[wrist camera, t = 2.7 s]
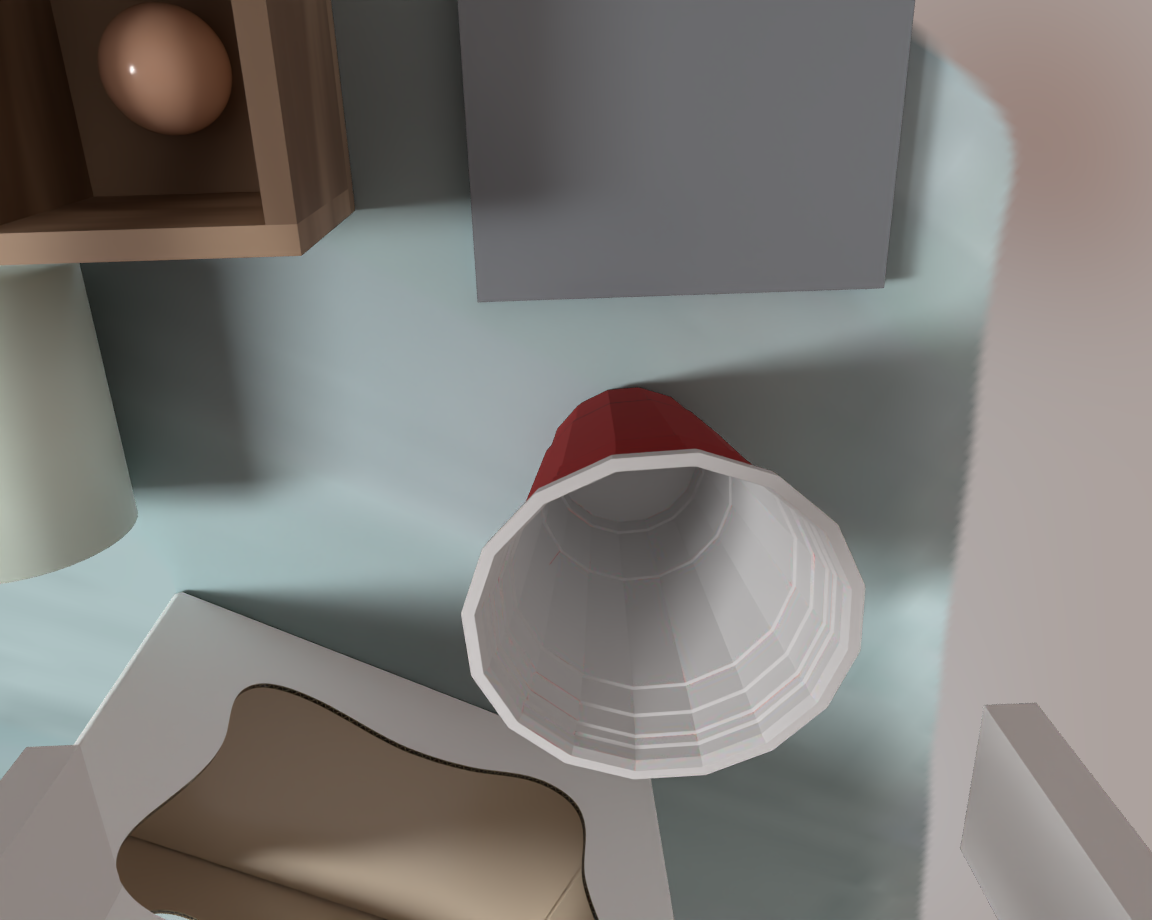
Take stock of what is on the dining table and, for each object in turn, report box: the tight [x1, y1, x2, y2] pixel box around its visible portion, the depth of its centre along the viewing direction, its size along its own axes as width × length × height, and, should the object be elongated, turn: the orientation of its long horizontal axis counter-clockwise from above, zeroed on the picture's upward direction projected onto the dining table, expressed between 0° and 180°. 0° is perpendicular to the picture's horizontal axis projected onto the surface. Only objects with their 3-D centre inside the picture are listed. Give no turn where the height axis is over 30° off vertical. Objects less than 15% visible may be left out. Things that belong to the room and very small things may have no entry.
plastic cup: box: [461, 387, 865, 779], centre depth 30 cm, size 11×11×12 cm
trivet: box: [458, 0, 915, 302], centre depth 30 cm, size 14×14×1 cm
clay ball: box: [97, 2, 232, 135], centre depth 27 cm, size 4×4×4 cm
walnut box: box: [0, 0, 355, 265], centre depth 26 cm, size 9×9×8 cm
